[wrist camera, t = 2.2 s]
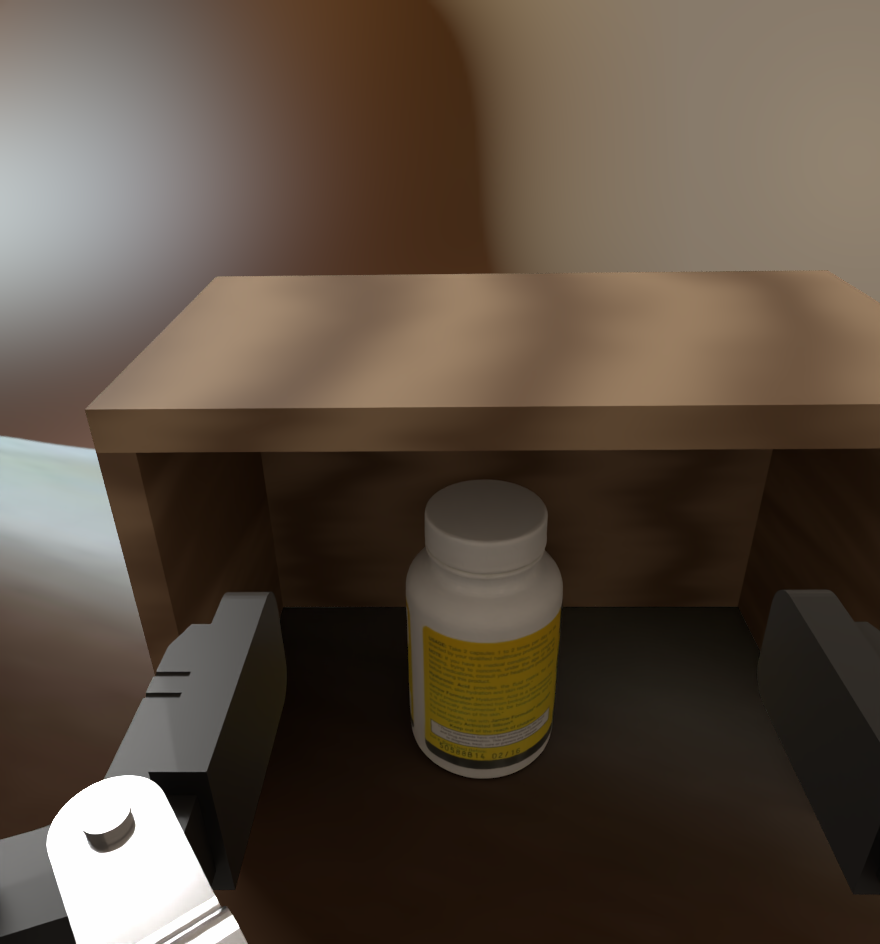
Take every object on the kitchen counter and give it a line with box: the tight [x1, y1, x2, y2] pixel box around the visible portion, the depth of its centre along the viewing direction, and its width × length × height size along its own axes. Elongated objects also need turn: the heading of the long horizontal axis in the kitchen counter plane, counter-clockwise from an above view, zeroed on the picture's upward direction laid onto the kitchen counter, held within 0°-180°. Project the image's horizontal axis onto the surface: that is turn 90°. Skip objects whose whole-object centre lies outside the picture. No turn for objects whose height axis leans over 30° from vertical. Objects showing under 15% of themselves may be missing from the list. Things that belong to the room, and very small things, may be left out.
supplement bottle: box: [406, 479, 563, 778], centre depth 27 cm, size 5×5×10 cm
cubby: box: [85, 270, 880, 676], centre depth 28 cm, size 23×12×15 cm, turn 89°
